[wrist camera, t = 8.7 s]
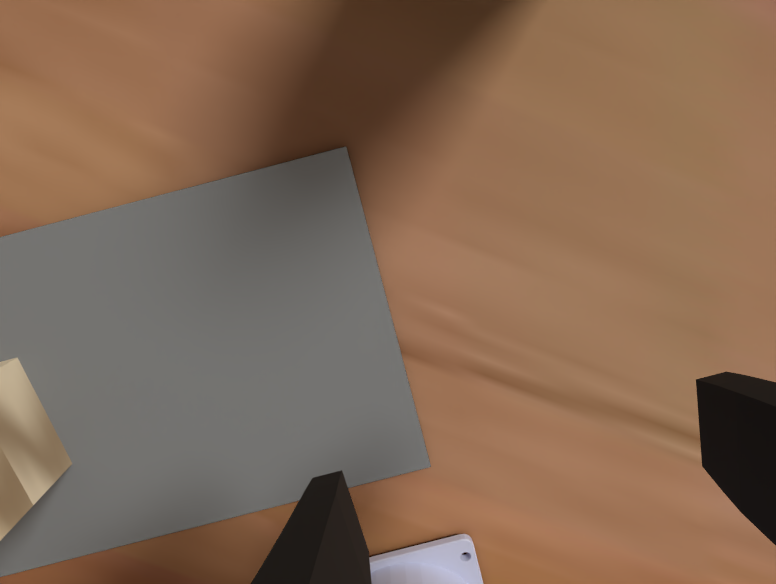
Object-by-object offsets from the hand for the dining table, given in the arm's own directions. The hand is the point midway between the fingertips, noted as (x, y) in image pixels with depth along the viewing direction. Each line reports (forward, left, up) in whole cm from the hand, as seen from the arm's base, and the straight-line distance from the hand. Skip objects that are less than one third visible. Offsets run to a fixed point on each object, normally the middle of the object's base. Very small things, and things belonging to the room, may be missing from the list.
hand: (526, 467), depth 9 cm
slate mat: (0, +14, -10) cm, 17 cm away
